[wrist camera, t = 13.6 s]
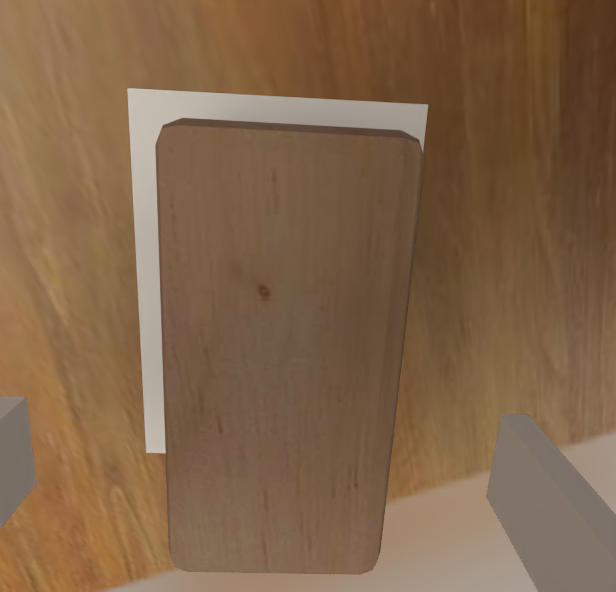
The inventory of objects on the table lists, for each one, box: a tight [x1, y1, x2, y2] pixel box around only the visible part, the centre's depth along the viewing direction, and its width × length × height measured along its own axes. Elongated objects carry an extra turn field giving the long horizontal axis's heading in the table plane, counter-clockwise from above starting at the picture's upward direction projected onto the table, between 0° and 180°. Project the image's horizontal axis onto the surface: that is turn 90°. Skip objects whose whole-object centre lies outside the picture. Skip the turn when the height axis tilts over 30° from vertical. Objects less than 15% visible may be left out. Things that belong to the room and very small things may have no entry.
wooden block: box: [155, 118, 425, 574], centre depth 24 cm, size 10×10×20 cm
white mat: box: [127, 88, 428, 453], centre depth 29 cm, size 16×22×1 cm
